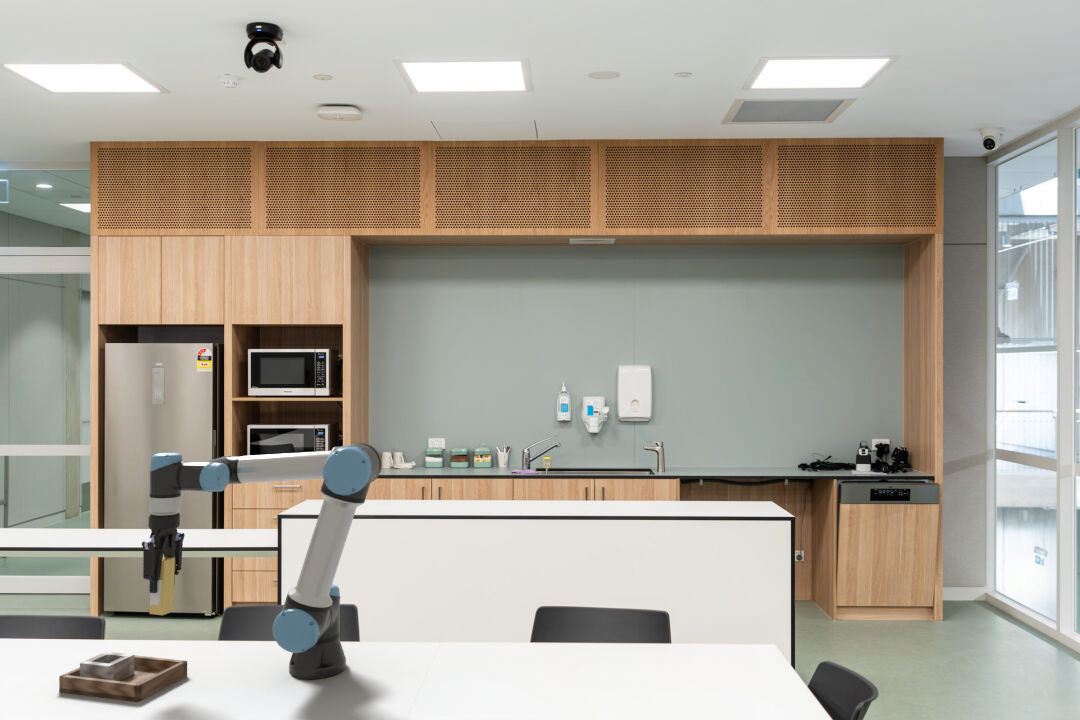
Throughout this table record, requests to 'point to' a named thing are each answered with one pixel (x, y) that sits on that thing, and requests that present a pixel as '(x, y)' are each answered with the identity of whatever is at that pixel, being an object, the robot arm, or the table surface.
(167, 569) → the connector
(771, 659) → the table surface
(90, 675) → the brown wooden tray
